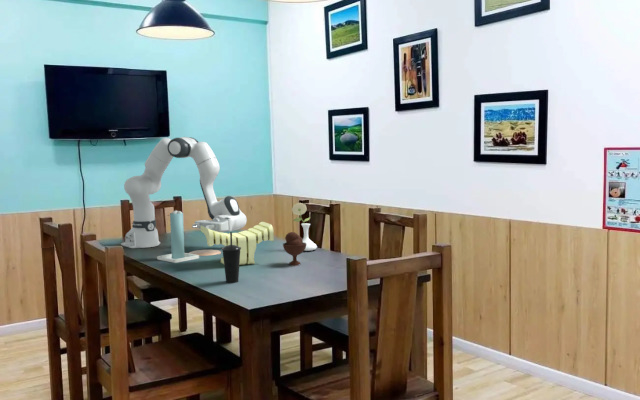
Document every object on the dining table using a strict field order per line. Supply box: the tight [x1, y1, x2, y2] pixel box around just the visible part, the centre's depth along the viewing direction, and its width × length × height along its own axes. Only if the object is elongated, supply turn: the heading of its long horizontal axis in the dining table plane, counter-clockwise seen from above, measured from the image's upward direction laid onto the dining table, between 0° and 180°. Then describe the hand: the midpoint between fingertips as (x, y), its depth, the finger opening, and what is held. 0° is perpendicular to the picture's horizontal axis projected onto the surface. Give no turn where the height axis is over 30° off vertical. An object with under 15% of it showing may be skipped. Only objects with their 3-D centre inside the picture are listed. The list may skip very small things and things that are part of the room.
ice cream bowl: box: [282, 231, 306, 266], centre depth 264 cm, size 11×11×15 cm
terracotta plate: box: [188, 249, 222, 257], centre depth 293 cm, size 16×16×1 cm
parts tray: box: [156, 252, 200, 264], centre depth 278 cm, size 14×14×2 cm
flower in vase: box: [291, 202, 318, 252], centre depth 300 cm, size 13×11×25 cm
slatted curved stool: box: [200, 221, 275, 266], centre depth 268 cm, size 30×16×18 cm, turn 115°
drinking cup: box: [221, 231, 241, 284], centre depth 231 cm, size 8×8×20 cm
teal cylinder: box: [169, 210, 185, 259], centre depth 277 cm, size 6×6×23 cm
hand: (199, 226), depth 287 cm, fingers open, 8 cm apart
